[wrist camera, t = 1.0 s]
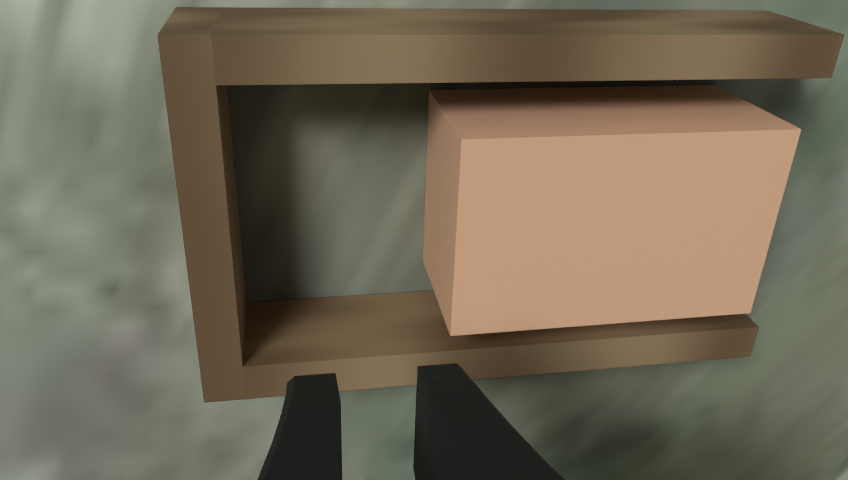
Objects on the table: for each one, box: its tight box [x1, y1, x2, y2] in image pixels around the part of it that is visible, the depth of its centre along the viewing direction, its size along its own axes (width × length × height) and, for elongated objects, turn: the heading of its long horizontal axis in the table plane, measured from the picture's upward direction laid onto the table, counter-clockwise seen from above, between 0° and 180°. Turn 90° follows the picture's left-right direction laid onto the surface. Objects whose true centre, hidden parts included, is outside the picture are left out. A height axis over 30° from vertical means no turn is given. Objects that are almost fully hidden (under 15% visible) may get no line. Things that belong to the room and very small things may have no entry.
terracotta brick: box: [423, 85, 801, 336], centre depth 19 cm, size 8×5×4 cm, turn 88°
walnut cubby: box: [158, 7, 844, 403], centre depth 19 cm, size 15×9×3 cm, turn 88°
